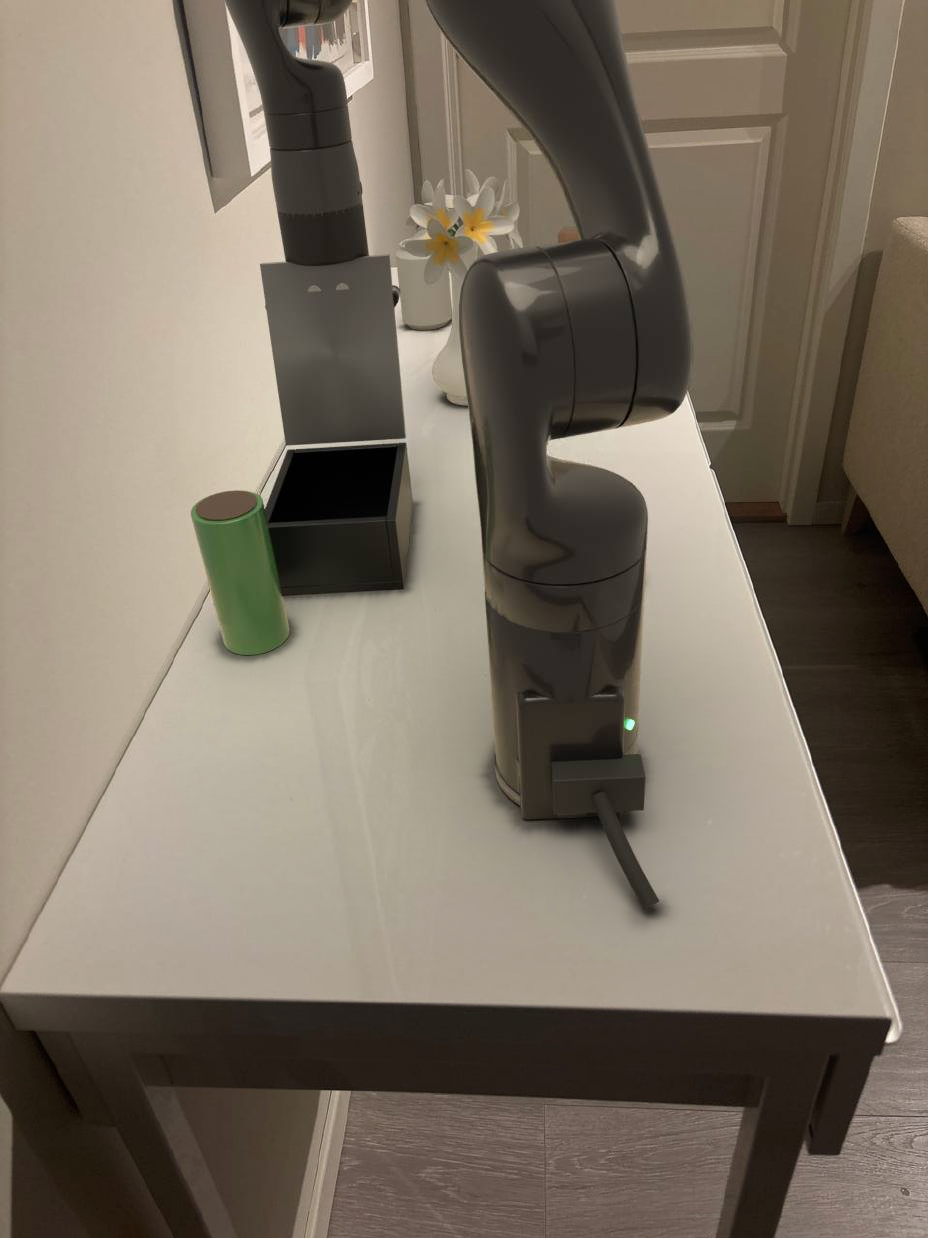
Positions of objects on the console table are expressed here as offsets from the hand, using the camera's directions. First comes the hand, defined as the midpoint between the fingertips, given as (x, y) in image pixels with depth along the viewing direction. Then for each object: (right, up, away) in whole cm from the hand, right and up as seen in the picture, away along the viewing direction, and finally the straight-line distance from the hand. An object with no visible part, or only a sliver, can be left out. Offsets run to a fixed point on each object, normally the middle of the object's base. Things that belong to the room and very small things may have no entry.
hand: (346, 389), depth 94 cm
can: (+6, +22, +51) cm, 55 cm away
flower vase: (+13, +5, +25) cm, 28 cm away
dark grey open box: (+1, -16, -4) cm, 16 cm away
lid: (0, +2, -5) cm, 5 cm away
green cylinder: (-6, -24, -15) cm, 29 cm away
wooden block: (+29, +36, +61) cm, 77 cm away
